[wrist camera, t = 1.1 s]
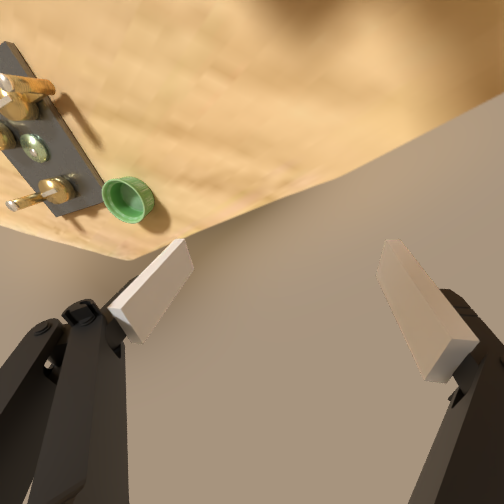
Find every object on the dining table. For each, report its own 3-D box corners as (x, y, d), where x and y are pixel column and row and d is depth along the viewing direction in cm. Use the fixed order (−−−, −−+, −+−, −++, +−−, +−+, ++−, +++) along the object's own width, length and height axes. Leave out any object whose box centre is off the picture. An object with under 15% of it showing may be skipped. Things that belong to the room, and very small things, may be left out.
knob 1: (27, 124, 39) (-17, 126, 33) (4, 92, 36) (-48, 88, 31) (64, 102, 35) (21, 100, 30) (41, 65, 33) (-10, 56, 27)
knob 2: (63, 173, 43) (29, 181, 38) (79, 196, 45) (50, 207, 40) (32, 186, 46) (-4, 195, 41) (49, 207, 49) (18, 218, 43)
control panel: (-42, 88, 39) (-57, 87, 37) (13, 43, 33) (-2, 39, 32) (60, 215, 51) (53, 218, 50) (113, 198, 46) (106, 201, 44)
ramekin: (125, 213, 47) (110, 221, 44) (111, 171, 42) (94, 177, 39) (161, 217, 46) (149, 226, 43) (151, 175, 41) (137, 181, 38)
